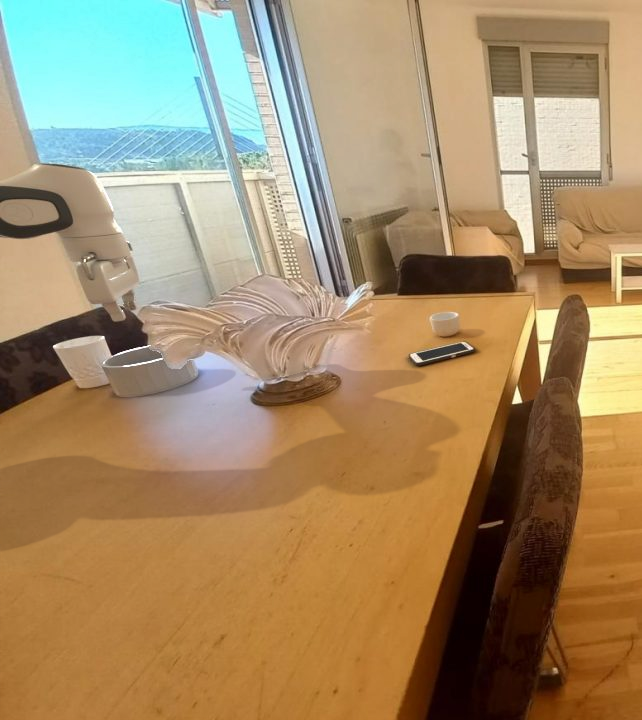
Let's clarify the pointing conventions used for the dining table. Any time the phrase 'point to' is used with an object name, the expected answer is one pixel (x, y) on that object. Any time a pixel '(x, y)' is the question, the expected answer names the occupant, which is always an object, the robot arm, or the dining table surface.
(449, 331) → the teacup
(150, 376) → the gray bowl
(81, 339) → the white cup
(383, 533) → the dining table surface
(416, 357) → the cell phone
